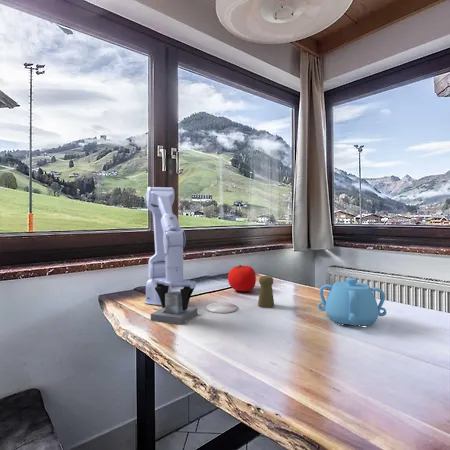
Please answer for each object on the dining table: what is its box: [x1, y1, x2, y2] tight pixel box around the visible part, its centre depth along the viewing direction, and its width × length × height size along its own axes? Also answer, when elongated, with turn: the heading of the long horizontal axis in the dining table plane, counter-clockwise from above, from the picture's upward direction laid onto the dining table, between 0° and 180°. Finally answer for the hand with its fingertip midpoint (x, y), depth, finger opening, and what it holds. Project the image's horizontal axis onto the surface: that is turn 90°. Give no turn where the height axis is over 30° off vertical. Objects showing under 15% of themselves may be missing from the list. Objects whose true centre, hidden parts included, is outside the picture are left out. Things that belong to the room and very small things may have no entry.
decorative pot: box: [317, 277, 387, 326], centre depth 100 cm, size 16×16×14 cm
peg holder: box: [150, 306, 198, 325], centre depth 105 cm, size 11×11×2 cm
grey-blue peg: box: [165, 290, 184, 315], centre depth 105 cm, size 4×4×8 cm
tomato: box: [227, 264, 257, 292], centre depth 139 cm, size 12×14×11 cm
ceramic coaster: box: [205, 302, 238, 314], centre depth 114 cm, size 11×11×1 cm
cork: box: [257, 275, 275, 309], centre depth 117 cm, size 6×6×11 cm
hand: (174, 308), depth 105 cm, fingers open, 7 cm apart
